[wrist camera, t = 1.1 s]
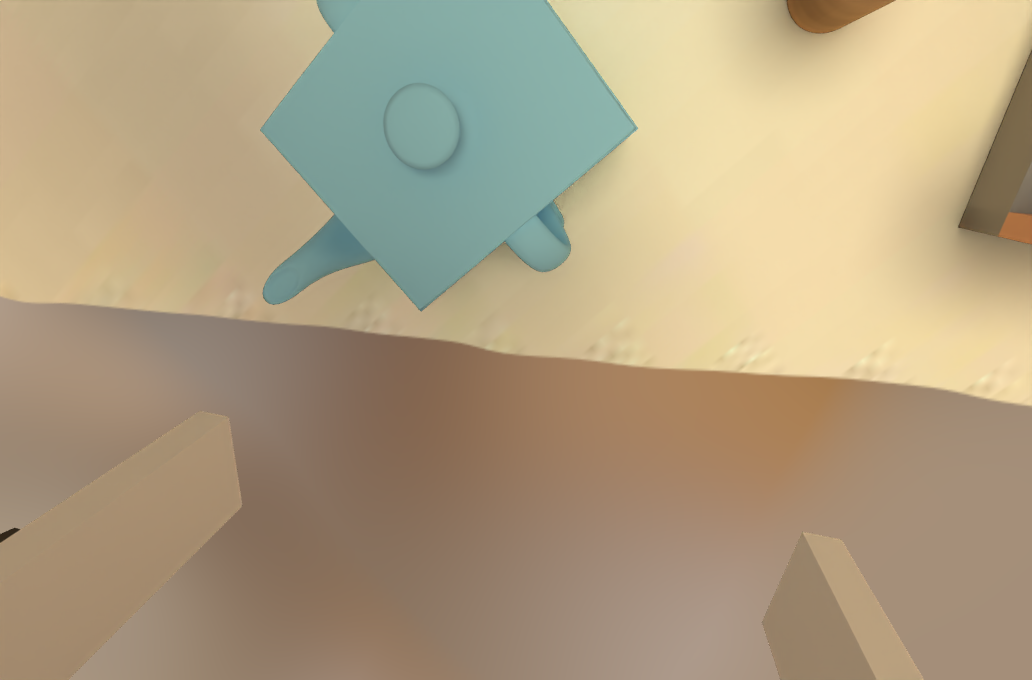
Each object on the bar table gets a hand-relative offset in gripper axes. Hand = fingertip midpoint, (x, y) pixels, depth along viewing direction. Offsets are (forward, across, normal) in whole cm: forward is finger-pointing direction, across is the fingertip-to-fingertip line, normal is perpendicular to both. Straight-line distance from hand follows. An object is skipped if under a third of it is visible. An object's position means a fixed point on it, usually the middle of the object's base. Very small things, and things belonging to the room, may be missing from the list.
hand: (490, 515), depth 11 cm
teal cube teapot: (+23, -8, +6) cm, 25 cm away
